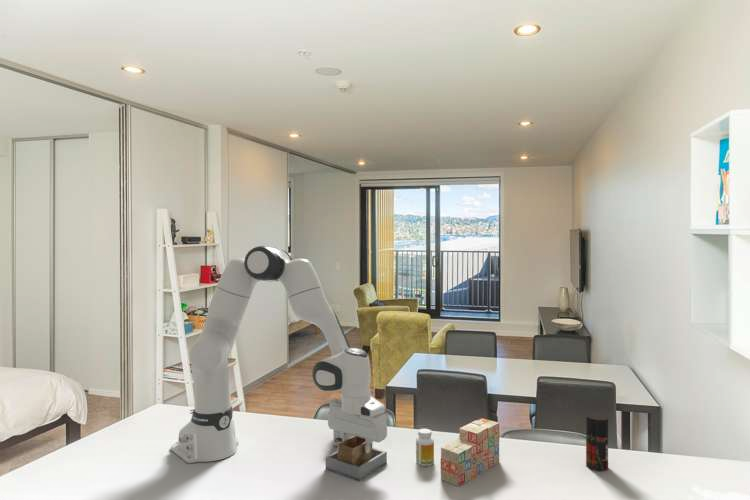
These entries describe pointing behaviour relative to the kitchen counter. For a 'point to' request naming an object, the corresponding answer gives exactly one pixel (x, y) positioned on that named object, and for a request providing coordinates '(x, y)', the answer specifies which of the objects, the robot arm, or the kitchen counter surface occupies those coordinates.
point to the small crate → (354, 451)
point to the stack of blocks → (470, 452)
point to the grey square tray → (353, 471)
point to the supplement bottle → (424, 448)
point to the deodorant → (597, 442)
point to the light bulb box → (339, 437)
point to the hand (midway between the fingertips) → (356, 449)
